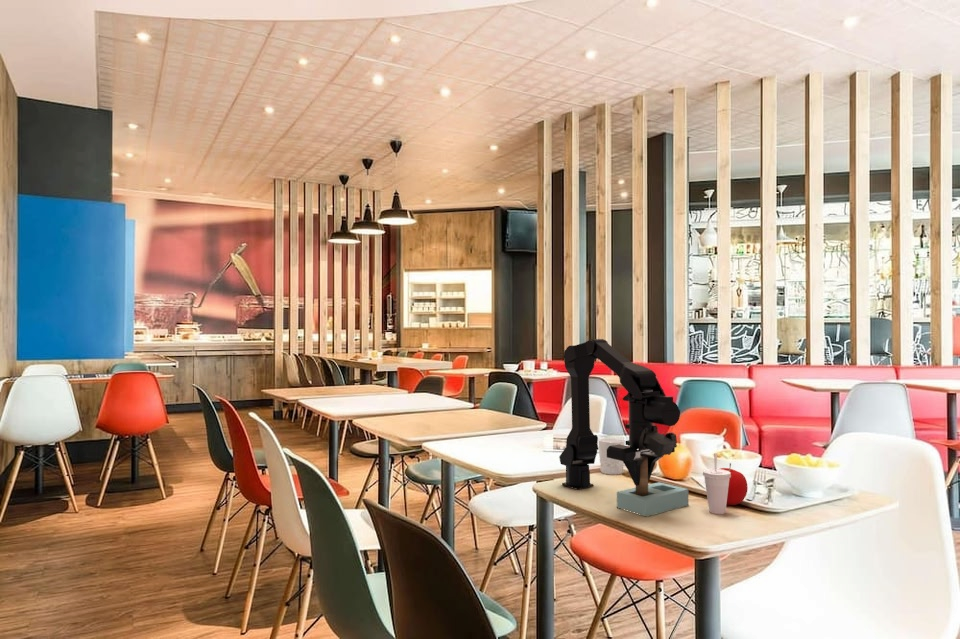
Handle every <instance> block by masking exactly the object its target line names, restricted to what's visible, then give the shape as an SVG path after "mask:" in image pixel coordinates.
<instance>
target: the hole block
mask: <svg viewBox="0 0 960 639" xmlns="http://www.w3.org/2000/svg"><path fill="white" fill-rule="evenodd" d="M689 497H690V496H689V488H684V487H681V486H676V485H672V484H669V483H663V482H654V483H648V495H647V496H639V495H636V487H632V488H628V489H624V490H619V491H616V508H617V507H618V508H617V509H619V508H622V509H625V510H628V511H631V512H630V513H632V512H635V513H638V514H640V515H639V516H641V515H644V516H647V517H650V516H649V515H651V516H653V515H657V514H661V513H665V512H670V511H674V510H676V509H681V508H684V507H689V503H690V502H689V501H690V500H689ZM622 509H621V510H622ZM625 510H624V511H625ZM628 511H627V512H628ZM635 513H634V514H635ZM638 514H637V515H638ZM644 516H643V517H644Z"/></svg>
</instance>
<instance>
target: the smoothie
mask: <svg viewBox="0 0 960 639" xmlns="http://www.w3.org/2000/svg"><path fill="white" fill-rule="evenodd" d="M713 457H714V462H713V463H714V468H707V469H703V470H702V476H703V477H704V484H705V490H706V497H707V498H706V499H707V504H708V506H707V507H708V510H709V511H708V512H709V513H710V514H715V515H723V514H724V515H725V514H726V512H727V505H726V504H727V495H728V487H729V478H730V477H731V473H730V472H729V471H726V470H722V469H720V468H718V454H717V453H714V456H713Z"/></svg>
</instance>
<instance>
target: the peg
mask: <svg viewBox="0 0 960 639" xmlns="http://www.w3.org/2000/svg"><path fill="white" fill-rule="evenodd" d="M640 458H642V459H645V460H644V461H643V462H642V464H641V465H640V483H639V485H638V486H637V485H635V488H636V495H639V496H647V495H648V485H649V483H648V458H647V457H641V456H640Z"/></svg>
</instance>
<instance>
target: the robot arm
mask: <svg viewBox="0 0 960 639" xmlns="http://www.w3.org/2000/svg"><path fill="white" fill-rule="evenodd" d="M563 360H564V367H565V371H567V373H568V375H569V376H570V390H571V391H570V394H571V398H570V401H571V429H570V431H569V433H568V435H567V437H566V444H565V448H564V449H563V451H562V452H561V454H560V455H559V457H558V458H559V463H560V464H561V466H562V465H563V466H565V482H562V483H561V486H564V487H567V488H571V489H574V490H580V489H585V488H590V487H594V484H593V483H591V471H590V465H591V464H592V465H594V464H595V462H596V457H597V454H598V451H599V438H598V435H597V434H594V432H593V430H592V429H591V421H590V419H591V417H590V415H591V414H590V381H589V380H590V379H589V378H590V375H591V373H592V371H593V370H594V368H595V362H596V360H599V361H600V362H601V363H603V365H605V366H606V367H607V368H609V369H610V370H611V371H612V372H613V373H615V375H617V377H618V379H619V383H620V384H621V386H622V387H623V388H624V389H625V391H626V392H627V394H626V395H624V396H623V398H622V401H624V402H628V423H625V426H624V427H625V429H627V430H628V440H625V444H624V445H620V444H618V445H612V446H609V447H608V448H607V458H612V459H616V460H620V461H623V463H624V464H623V465H624V466H625V467H626V470H627V471H628V473H629V475H630V478H631V479H632V482H633V483H634V485H635V486H636V485H637V486H638V485H639V483H640V465H641V464H642V462H643V461H644V460H645V459H642V458H640V456H641V457H647V458H648V484H650V479H651V477H652V474H653V470H654V468H655V465H656V463H657V461H659V460H660V459H662V458H663V457H664V456H666V455H668V456H670V455H671V454H672V453H675V452H676V450H675V449H676V448H677V447H678V444H677V443H678V440H677V439H678V438H677V434H676V433H674V432H666V434H665V433H660V432H659V430H658V426H657V425H661V426H662V425H663V426H668V427H673V426H675V425H676V424H677V423H678V422H679V419H680V417H681V410H680V409H679V406H678V405H677V403H676V402H675V401H674V396H671V395H670V396H669V395H666V393H665V391H664V389H663V388H662V386H661V384H660V382H659V380H658V378H657V374H656V373H655V372H654V371H653V370H652V369H650V368H648V367H646V366H644V365H640V364H637V363H634V362H632V361H631V360H629V359H628V358H627V357H626V356H624V355H623V354H622V353H621V352H619V351H618V350H617V349H616V348H614V347H613V346H612V345H610V344H609V343H608V341H607V340H606V339H603V338H591V339H589V340H587V341H585V342H581V343H579V344H576V345H567V347H566V348H565V349H564V351H563ZM656 424H657V425H656Z"/></svg>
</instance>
